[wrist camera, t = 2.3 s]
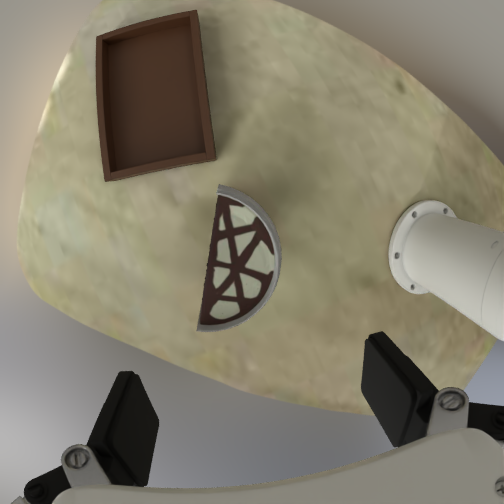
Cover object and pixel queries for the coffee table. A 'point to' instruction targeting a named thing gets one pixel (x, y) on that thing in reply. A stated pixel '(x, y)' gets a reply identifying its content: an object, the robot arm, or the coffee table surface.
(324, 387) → the coffee table surface
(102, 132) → the tray
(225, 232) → the lattice half-cylinder
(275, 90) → the coffee table surface
